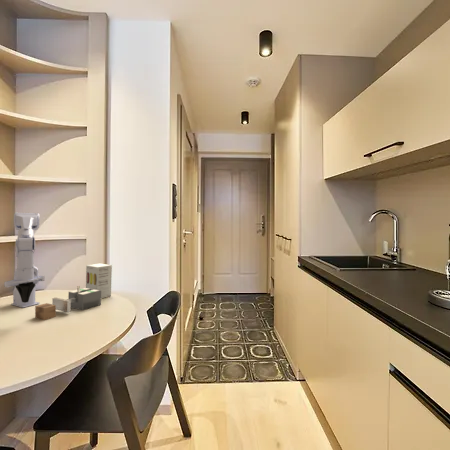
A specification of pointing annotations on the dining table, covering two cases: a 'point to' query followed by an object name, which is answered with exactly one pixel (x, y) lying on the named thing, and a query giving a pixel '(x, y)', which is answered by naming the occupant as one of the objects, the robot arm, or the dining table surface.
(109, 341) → the dining table surface
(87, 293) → the gauge housing
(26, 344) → the dining table surface
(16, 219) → the robot arm
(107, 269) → the supplement box
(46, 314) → the walnut block
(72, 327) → the dining table surface
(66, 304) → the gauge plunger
